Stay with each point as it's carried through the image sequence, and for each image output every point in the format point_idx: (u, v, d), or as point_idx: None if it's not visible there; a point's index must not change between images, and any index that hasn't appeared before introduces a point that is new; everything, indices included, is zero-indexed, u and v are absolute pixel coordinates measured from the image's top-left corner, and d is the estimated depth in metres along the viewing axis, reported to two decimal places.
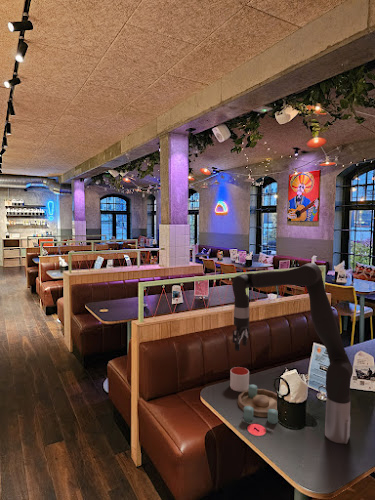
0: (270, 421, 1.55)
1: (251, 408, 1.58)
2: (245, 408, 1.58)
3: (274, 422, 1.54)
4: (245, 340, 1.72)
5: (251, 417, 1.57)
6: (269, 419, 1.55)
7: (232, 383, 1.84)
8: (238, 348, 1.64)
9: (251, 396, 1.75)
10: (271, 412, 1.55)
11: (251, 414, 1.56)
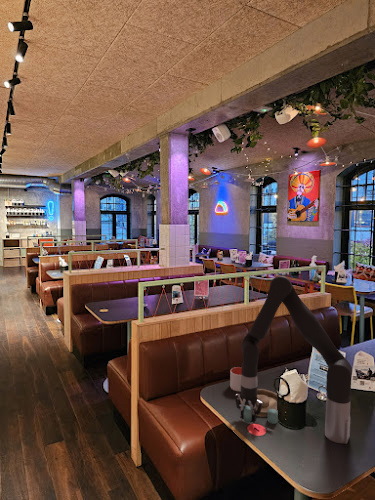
0: (270, 421, 1.55)
1: None
2: (245, 408, 1.58)
3: (274, 422, 1.54)
4: None
5: (251, 417, 1.57)
6: (269, 419, 1.55)
7: (232, 383, 1.84)
8: None
9: None
10: (271, 412, 1.55)
11: (251, 414, 1.56)
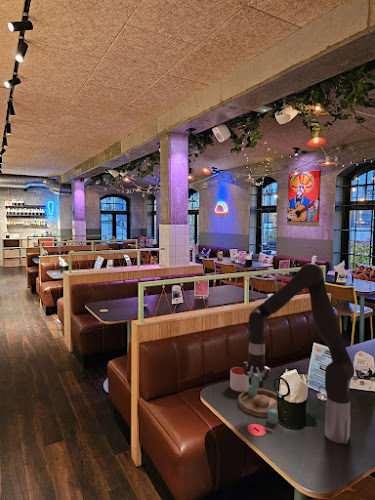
0: (270, 421, 1.55)
1: None
2: (253, 375, 1.64)
3: (274, 422, 1.54)
4: None
5: None
6: (269, 419, 1.55)
7: (232, 383, 1.84)
8: None
9: (251, 396, 1.75)
10: (271, 412, 1.55)
11: (259, 380, 1.62)
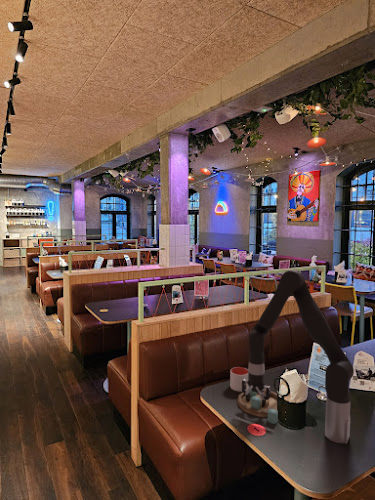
0: (270, 421, 1.55)
1: (258, 398, 1.65)
2: (252, 398, 1.65)
3: (274, 422, 1.54)
4: (249, 396, 1.67)
5: (258, 407, 1.63)
6: (269, 419, 1.55)
7: (232, 383, 1.84)
8: None
9: (251, 396, 1.75)
10: (271, 412, 1.55)
11: (258, 404, 1.63)
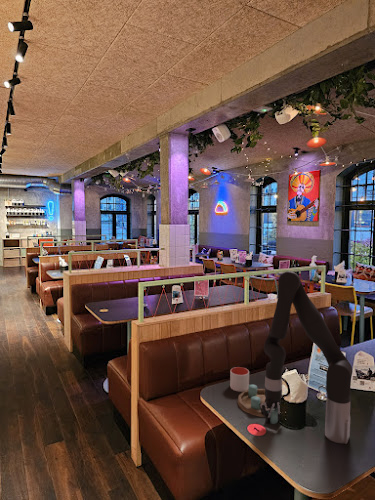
0: (270, 421, 1.55)
1: (258, 398, 1.65)
2: (252, 398, 1.65)
3: (274, 422, 1.54)
4: None
5: (258, 407, 1.63)
6: None
7: (232, 383, 1.84)
8: None
9: (251, 396, 1.75)
10: None
11: (258, 404, 1.63)
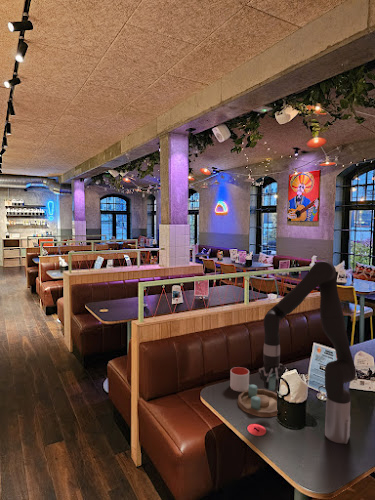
0: None
1: (258, 398, 1.65)
2: (252, 398, 1.65)
3: (272, 386, 1.62)
4: None
5: (258, 407, 1.63)
6: None
7: (232, 383, 1.84)
8: None
9: (251, 396, 1.75)
10: None
11: (258, 404, 1.63)
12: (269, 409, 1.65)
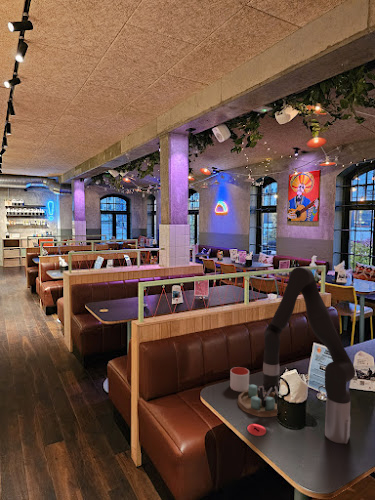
0: (267, 408, 1.63)
1: (258, 398, 1.65)
2: (252, 398, 1.65)
3: (271, 409, 1.63)
4: None
5: (258, 407, 1.63)
6: (266, 406, 1.63)
7: (232, 383, 1.84)
8: None
9: (251, 396, 1.75)
10: (268, 400, 1.63)
11: (258, 404, 1.63)
12: None
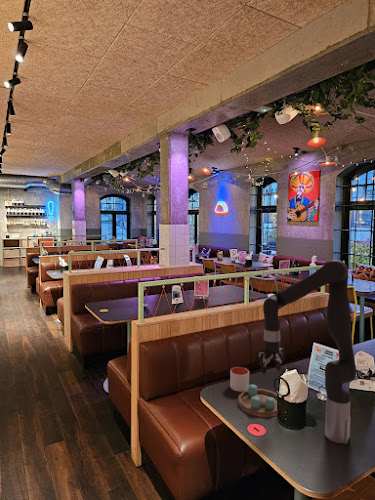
0: (267, 408, 1.63)
1: (258, 398, 1.65)
2: (252, 398, 1.65)
3: (271, 409, 1.63)
4: None
5: (258, 407, 1.63)
6: (266, 406, 1.63)
7: (232, 383, 1.84)
8: None
9: (251, 396, 1.75)
10: (268, 400, 1.63)
11: (258, 404, 1.63)
12: None
